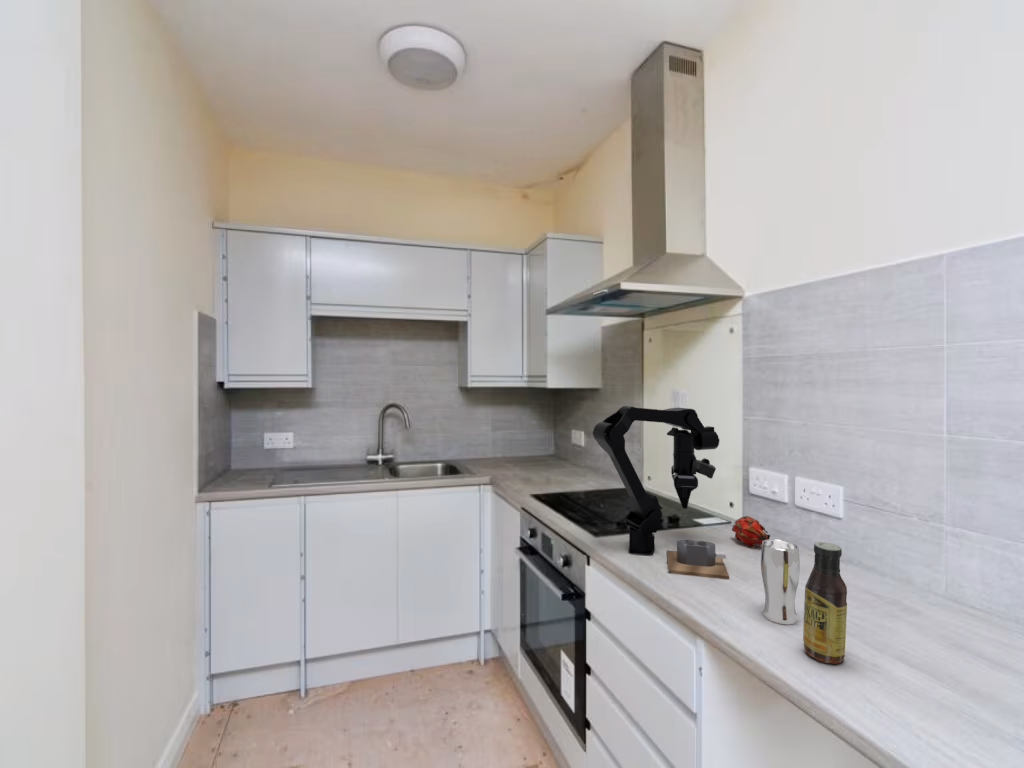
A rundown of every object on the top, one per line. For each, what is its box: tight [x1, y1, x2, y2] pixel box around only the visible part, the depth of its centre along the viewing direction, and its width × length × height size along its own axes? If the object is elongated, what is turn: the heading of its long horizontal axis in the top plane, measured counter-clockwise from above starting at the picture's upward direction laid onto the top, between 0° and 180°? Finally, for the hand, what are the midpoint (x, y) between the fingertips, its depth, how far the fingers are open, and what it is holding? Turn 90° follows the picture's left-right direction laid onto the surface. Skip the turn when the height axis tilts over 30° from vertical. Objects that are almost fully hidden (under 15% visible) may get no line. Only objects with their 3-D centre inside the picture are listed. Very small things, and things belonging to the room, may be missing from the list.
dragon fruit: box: [731, 515, 771, 549], centre depth 140 cm, size 8×8×12 cm
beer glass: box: [760, 538, 801, 626], centre depth 98 cm, size 7×7×15 cm
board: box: [666, 549, 730, 580], centre depth 125 cm, size 14×14×1 cm
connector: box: [676, 539, 727, 567], centre depth 124 cm, size 12×4×5 cm, turn 74°
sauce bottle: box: [802, 541, 848, 665], centre depth 84 cm, size 6×6×20 cm
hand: (683, 504), depth 140 cm, fingers open, 9 cm apart
